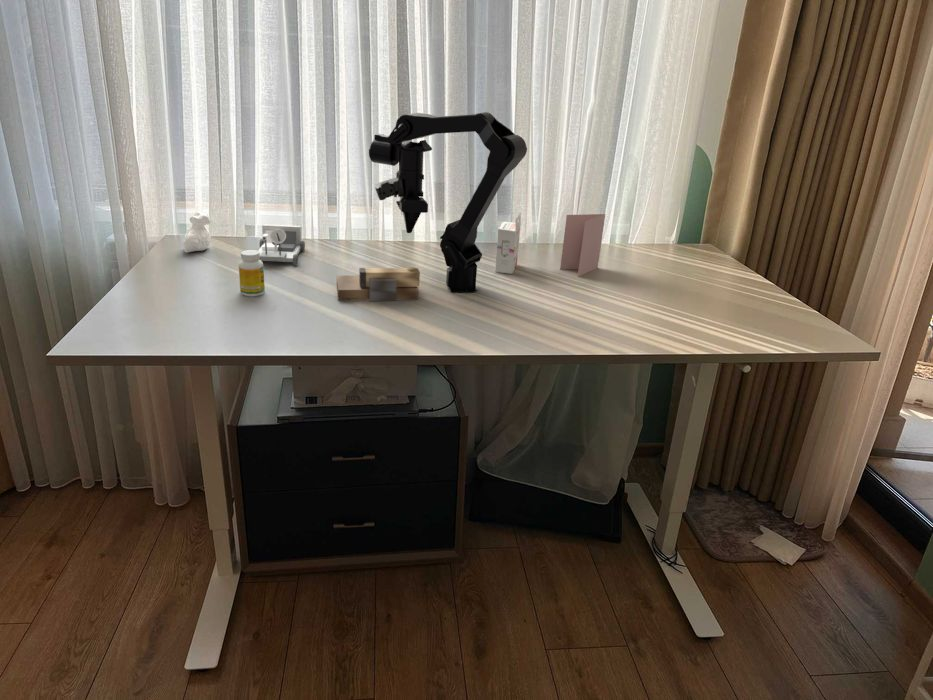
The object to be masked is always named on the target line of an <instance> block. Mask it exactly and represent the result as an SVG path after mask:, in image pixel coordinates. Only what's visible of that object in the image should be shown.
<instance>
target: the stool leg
mask: <svg viewBox="0 0 933 700" xmlns="http://www.w3.org/2000/svg"><path fill="white" fill-rule="evenodd" d="M358 270H359V275H358V276H359V283H360V288H366V287H369V278H396V280H397V283H396V287H417V288H419V287H420V279H421V277H420V275H421V271H420V270H419V268H418V267H412V266H410V267H405V268H404V267H401V268H400V267H393V268H392V267H391V268H389V267H386V268H385V267H382V268H379V267H378V268H377V267H376V268H375V267H374V268H373V267H371V268H367V267H366V268H365V267H359V269H358Z"/></svg>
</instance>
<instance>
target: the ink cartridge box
mask: <svg viewBox="0 0 933 700" xmlns="http://www.w3.org/2000/svg"><path fill="white" fill-rule="evenodd" d="M521 213H522V212H519V214H518V215H517V216H516V217H515V222H512V221H502V222H501V224H500V226H498V229H497V238H496V239H497V241H496V255H495V269H494V272H495V273H501V274H511V275H512V274H514V271H515V269H516V267H517V264H518V256H519V255H518V254H519V247H520V246H519V244H520V234H521V225H522V223H521V222H522V217H521V215H522V214H521Z"/></svg>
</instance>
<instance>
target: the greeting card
mask: <svg viewBox="0 0 933 700" xmlns="http://www.w3.org/2000/svg"><path fill="white" fill-rule="evenodd" d="M565 217H566V218H565V225H564V226H565V227H564V235H563V242H562V250H561V251H562V252H561V258H560V265H559V266H560V267H559V270H578V272H577V277H581V276H583V275H585V274H587V273H589V272H592V271H594V270H596V269H599V268H598V267H599V261H600V254H601V249H602V248H601V247H602V243H603V242H602V239H603V233H604V226H605V221H606V220H605V219H606V214H605V213H603V214H602V213H597V214H595V213H594V214H590V213H589V214H566V216H565Z"/></svg>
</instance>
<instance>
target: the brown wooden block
mask: <svg viewBox="0 0 933 700" xmlns="http://www.w3.org/2000/svg"><path fill="white" fill-rule="evenodd" d="M396 283H397V280H396V278H369V287H366V288H360V283H359V275H336V290H337V298H338V299H337V301H369V302H396V301H401V300H403V301H404V300H405V301H406V300H407V301H408V300H411V301H412V300H413V301H414V300H415V301H416V300H418V290H419V289H418V287H396Z"/></svg>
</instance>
